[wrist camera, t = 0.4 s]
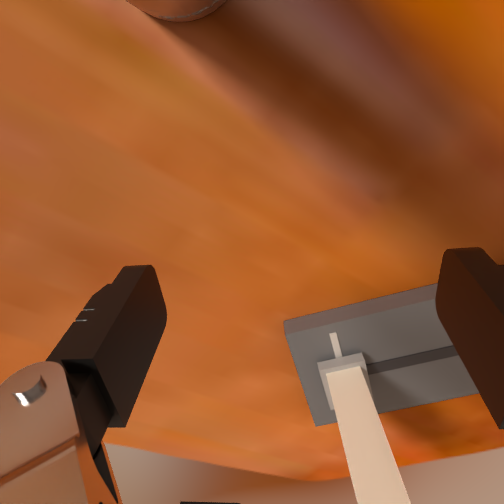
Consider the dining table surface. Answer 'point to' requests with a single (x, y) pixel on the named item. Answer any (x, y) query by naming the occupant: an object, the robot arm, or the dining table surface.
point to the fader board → (381, 351)
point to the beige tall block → (362, 432)
